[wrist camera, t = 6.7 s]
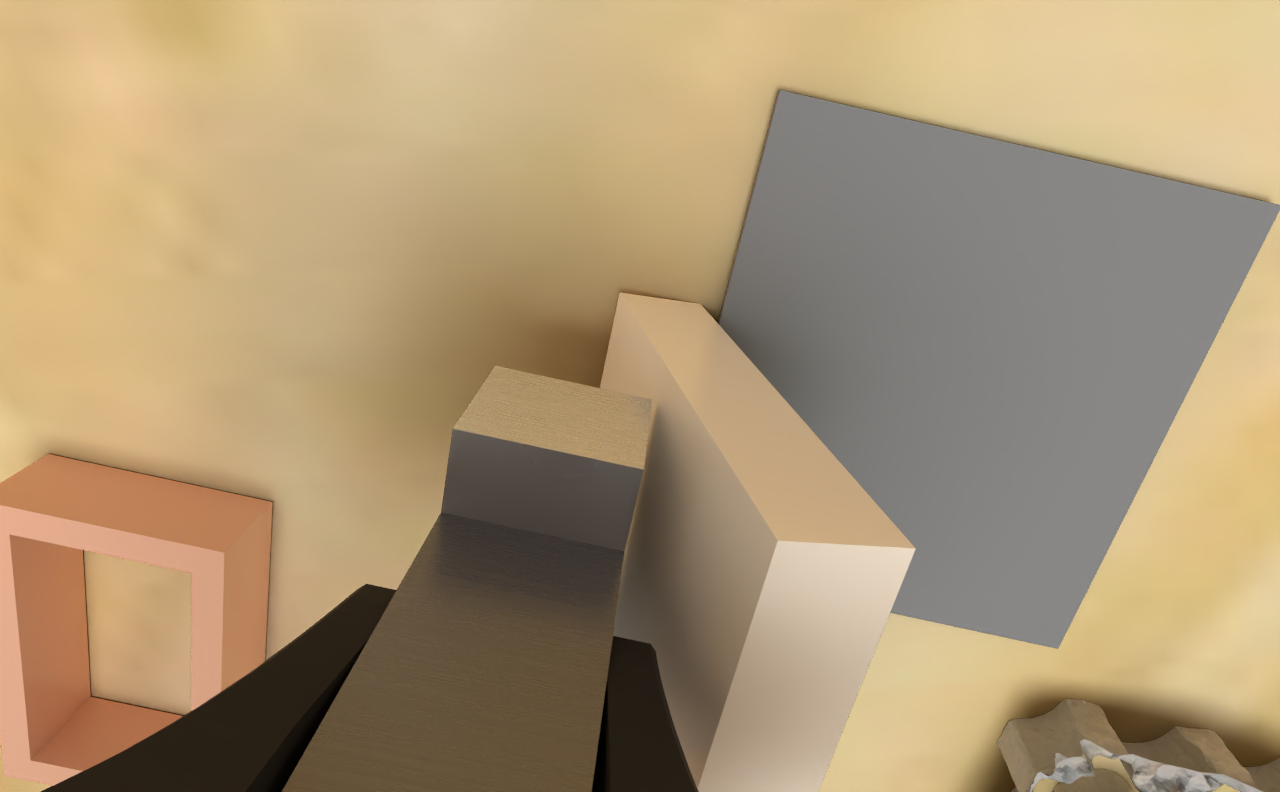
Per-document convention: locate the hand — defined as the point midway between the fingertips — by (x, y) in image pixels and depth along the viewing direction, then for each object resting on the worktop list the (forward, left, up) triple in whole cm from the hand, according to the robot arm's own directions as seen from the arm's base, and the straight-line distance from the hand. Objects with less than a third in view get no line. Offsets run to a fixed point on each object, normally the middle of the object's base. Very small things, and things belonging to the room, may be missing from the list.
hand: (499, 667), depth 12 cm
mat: (+3, -8, -9) cm, 13 cm away
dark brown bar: (0, 0, -5) cm, 5 cm away
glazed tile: (0, -1, -9) cm, 9 cm away
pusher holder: (-9, +11, -9) cm, 17 cm away
